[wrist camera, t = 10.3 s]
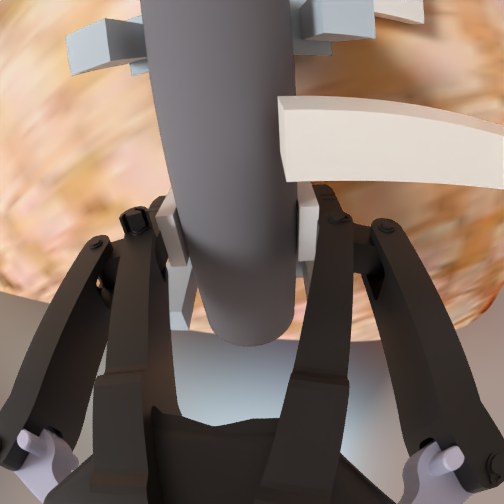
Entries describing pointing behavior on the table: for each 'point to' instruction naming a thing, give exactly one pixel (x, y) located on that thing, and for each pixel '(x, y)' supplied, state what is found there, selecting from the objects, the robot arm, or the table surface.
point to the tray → (400, 10)
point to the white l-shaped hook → (386, 142)
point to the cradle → (134, 52)
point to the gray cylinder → (229, 154)
